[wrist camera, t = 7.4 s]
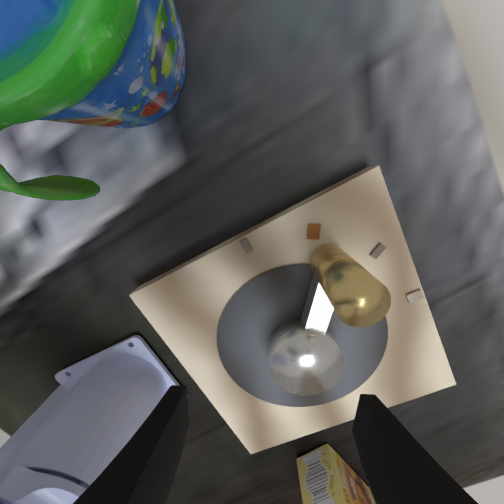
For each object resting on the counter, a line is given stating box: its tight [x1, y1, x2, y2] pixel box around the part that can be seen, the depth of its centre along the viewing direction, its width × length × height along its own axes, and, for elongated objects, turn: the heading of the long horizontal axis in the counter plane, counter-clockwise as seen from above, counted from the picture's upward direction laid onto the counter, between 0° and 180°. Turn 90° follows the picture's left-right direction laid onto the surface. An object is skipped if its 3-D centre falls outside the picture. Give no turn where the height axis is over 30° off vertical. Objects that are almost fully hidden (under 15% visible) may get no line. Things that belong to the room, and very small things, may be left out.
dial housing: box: [129, 166, 456, 454], centre depth 19 cm, size 19×19×2 cm
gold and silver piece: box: [269, 244, 391, 395], centre depth 14 cm, size 11×5×6 cm, turn 170°
